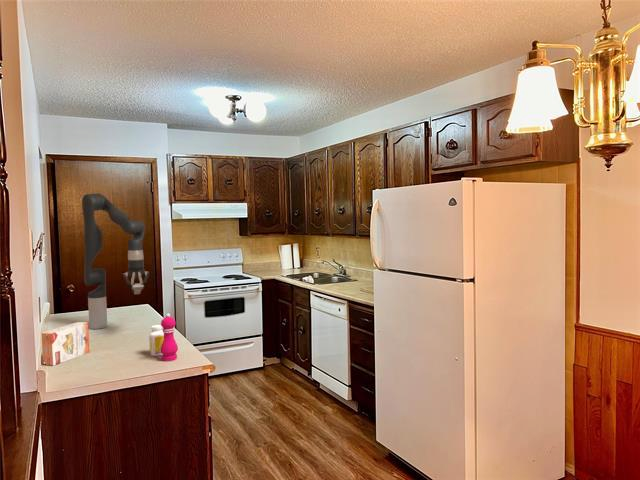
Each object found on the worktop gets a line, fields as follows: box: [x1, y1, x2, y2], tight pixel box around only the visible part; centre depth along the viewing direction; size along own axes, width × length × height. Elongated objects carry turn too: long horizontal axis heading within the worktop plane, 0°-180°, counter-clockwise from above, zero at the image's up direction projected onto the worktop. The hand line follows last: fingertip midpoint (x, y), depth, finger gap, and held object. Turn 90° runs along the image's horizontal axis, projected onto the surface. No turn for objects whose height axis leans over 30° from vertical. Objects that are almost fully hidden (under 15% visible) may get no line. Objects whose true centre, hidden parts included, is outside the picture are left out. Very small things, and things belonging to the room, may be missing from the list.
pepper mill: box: [160, 313, 179, 362], centre depth 206 cm, size 7×7×20 cm
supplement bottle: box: [148, 324, 164, 357], centre depth 213 cm, size 7×7×13 cm
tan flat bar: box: [132, 282, 145, 295], centre depth 243 cm, size 18×5×3 cm, turn 24°
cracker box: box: [41, 321, 90, 367], centre depth 209 cm, size 14×6×21 cm
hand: (137, 291), depth 248 cm, fingers closed on tan flat bar, 3 cm apart
